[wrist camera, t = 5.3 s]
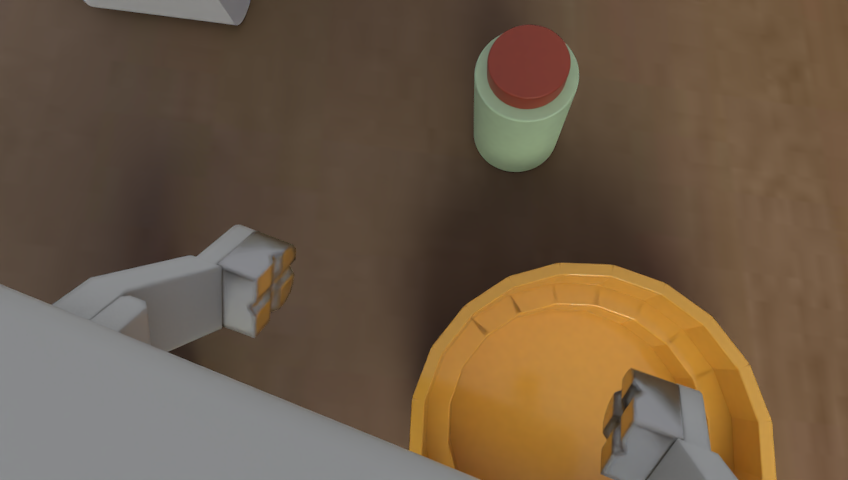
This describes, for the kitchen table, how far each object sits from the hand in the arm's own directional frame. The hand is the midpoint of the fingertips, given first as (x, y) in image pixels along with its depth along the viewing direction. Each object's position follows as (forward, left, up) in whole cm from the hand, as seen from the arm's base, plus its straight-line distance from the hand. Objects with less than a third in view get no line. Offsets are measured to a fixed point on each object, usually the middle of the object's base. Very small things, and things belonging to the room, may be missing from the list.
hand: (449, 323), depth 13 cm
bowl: (-3, -5, -14) cm, 15 cm away
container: (+11, -2, -14) cm, 18 cm away
